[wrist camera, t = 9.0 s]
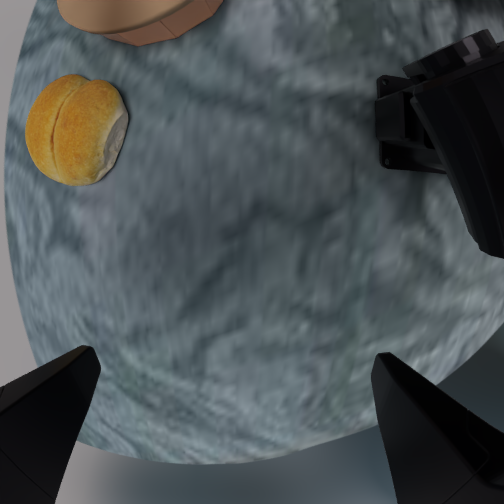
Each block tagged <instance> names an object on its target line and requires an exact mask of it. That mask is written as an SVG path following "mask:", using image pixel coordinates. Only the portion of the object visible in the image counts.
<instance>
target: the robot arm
mask: <svg viewBox="0 0 504 504" xmlns="http://www.w3.org/2000/svg"><path fill="white" fill-rule="evenodd" d="M402 69H403V71H404V72H405V74H406V75H407V77H410V79H406V78H400V77H394V76H388V75H382V76H380V77H379V78H378V79H377V89H378V99H377V100H376V101H375V114H376V137H377V138H378V140H379V141H380V164H381V166H382V167H383V168H387V169H397V170H410V171H422V172H432V173H442V174H447V176H448V178H449V180H450V183H451V185H452V188H453V190H454V193H455V195H456V198H457V200H458V203H459V206H460V208H461V211H462V214H463V217H464V220H465V222H466V225H467V228H468V232H469V233H470V235H471V236H472V237H473V239H474V240H475V242H477V243H478V246H479V249H480V250H481V251H483V252H485V253H487V254H488V255H491V256H494V257H499V258H503V259H504V41H502V42H499V43H497V44H496V43H495V40H494V38H493V37H492V35H491V33H490V32H489V30H488V29H485V30H481V31H479V32H477V33H474V34H472V35H469V36H467V37H465V38H463V39H460V40H458V41H456V42H454V43H451V44H449V45H447V46H445V47H443V48H441V49H439V50H437V51H435V52H433V53H431V54H429V55H427V56H425V57H423V58H421V59H419V60H417V61H415V62H413V63H411V64H409V65H407V66H405V67H403V68H402ZM383 79H384V80H386V82H387V85H384V84H383V82H382V80H383ZM386 158H388V159H389V160H390V162H389V164H388V165H386V163H385V159H386ZM100 372H101V365H100V362H99V360H98V358H97V355H96V353H95V350H94V348H93V347H91V346H86V345H81V346H79V347H77V348H75V349H73V350H71V351H69V352H68V353H66V354H64V355H62V356H60V357H58V358H56V359H54V360H52V361H50V362H48V363H46V364H44V365H42V366H41V367H39V368H37V369H35V370H33V371H31V372H29V373H27V374H25V375H23V376H21V377H19V378H17V379H15V380H13V381H11V382H10V383H8V384H6V385H5V386H2V387H0V504H55V500H56V498H57V494H58V491H59V488H60V485H61V482H62V479H63V476H64V473H65V470H66V467H67V464H68V461H69V459H70V456H71V453H72V450H73V448H74V445H75V442H76V440H77V437H78V435H79V432H80V429H81V427H82V424H83V422H84V419H85V417H86V415H87V412H88V410H89V407H90V404H91V401H92V397H93V394H94V391H95V388H96V384H97V381H98V378H99V375H100ZM371 382H372V388H373V394H374V400H375V407H376V414H377V420H378V424H379V428H380V432H381V435H382V439H383V443H384V447H385V451H386V455H387V459H388V463H389V467H390V471H391V476H392V480H393V484H394V489H395V493H396V498H397V503H398V504H504V433H503V432H501V431H500V430H498V429H496V428H494V427H493V426H491V425H490V424H488V423H487V422H485V421H484V420H482V419H481V418H480V417H478V416H477V415H475V414H474V413H473V412H471V411H470V410H467V408H466V407H464V406H463V405H462V404H460V403H459V402H457V401H456V400H455V399H453V398H452V397H451V396H449V395H448V394H446V393H445V392H444V391H442V390H441V389H440V388H438V387H437V386H436V385H434V384H433V383H432V382H430V381H429V380H427V379H426V378H425V377H423V376H422V375H421V374H419V373H418V372H416V371H415V370H414V369H412V368H411V367H410V366H408V365H407V364H406V363H404V362H403V361H401V360H400V359H399V358H397V357H396V356H395V355H393V354H392V353H390V352H385V353H378V354H377V355H376V357H375V361H374V365H373V369H372V373H371Z"/></svg>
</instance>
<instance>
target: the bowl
mask: <svg viewBox="0 0 504 504" xmlns="http://www.w3.org/2000/svg"><path fill="white" fill-rule="evenodd" d="M222 2H223V0H194V1H193V2H191V3H190V4H188V5H187V6H185V7H184V8H182V9H180V10H179V11H177V12H175V13H173V14H172V15H170V16H168V17H166V18H164V19H162V20H160V21H157V22H155V23H152V24H150V25H148V26H145V27H142V28H139V29H136V30H132V31H128V32H123V33H117V34H100V35H102V36H104V37H106V38H108V39H111V40H115V41H119V42H123V43H127V44H131V45H134V46H142V45H146V44H150V43H155V42H159V41H164V40H169V39H174V38H176V37H179V36H180V35H182V34H184V33H185V32H187V31H188V30H190V29H191V28H193V27H195V26H196V25H198V24H199V23H201V22H203V21H204V20H206V19H208V18H210V17H211V16H213V15H214V13H215V12H216V10H217V9H218V7H219V6H220V5H221V3H222Z"/></svg>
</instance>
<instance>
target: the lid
mask: <svg viewBox="0 0 504 504" xmlns="http://www.w3.org/2000/svg"><path fill="white" fill-rule="evenodd" d="M193 1H194V0H57V4H58V9H59V11H60V14H61V15H62V17H63V18H64V20H66V21H67V22H68V23H69V24H71V25H73V26H75V27H77V28H79V29H81V30H83V31H86V32H89V33H93V34H117V33H123V32H128V31H132V30H136V29H139V28H142V27H145V26H148V25H150V24H152V23H155V22H157V21H160V20H162V19H164V18H166V17H168V16H170V15H172V14H173V13H175V12H177V11H179V10H180V9H182V8H184V7H185V6H187V5H188V4H190V3H191V2H193Z"/></svg>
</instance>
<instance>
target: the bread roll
mask: <svg viewBox="0 0 504 504" xmlns="http://www.w3.org/2000/svg"><path fill="white" fill-rule="evenodd" d="M127 124H128V113H127V110H126V108H125V106H124V104H123V101H122V98H121V96H120V94H119V92H118V91H117V89H116V88H115V87H113V86H112V85H111V84H110V83H108V82H107V81H103V80H92V81H89V80H87V79H85V78H84V77H82V76H79V75H74V74H71V75H66V76H63V77H61V78H59V79H57V80H55V81H54V82H52V83H50V84H49V85H48V86H47V87H46V88H45V89H44V90H43V91H42V92H41V93H40V95H39V96H38V97H37V99H36V101H35V102H34V104H33V106H32V108H31V110H30V112H29V115H28V119H27V123H26V130H25V137H26V144H27V147H28V150H29V153H30V155H31V157H32V159H33V161H34V163H35V165H36V166H37V167H38V169H39V170H40V171H41V172H42V173H44V174H45V175H46V176H48V177H49V178H51V179H53V180H55V181H58V182H60V183H64V184H67V185H70V186H84V185H89V184H92V183H95V182H97V181H99V180H100V179H101V178H102V177H103V176H104V175H105V174H106V173H107V172H108V171H109V170H110V169H111V168H112V167H113V165H114V163H115V161H116V158H117V155H118V153H119V151H120V149H121V146H122V144H123V140H124V137H125V133H126V129H127Z"/></svg>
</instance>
